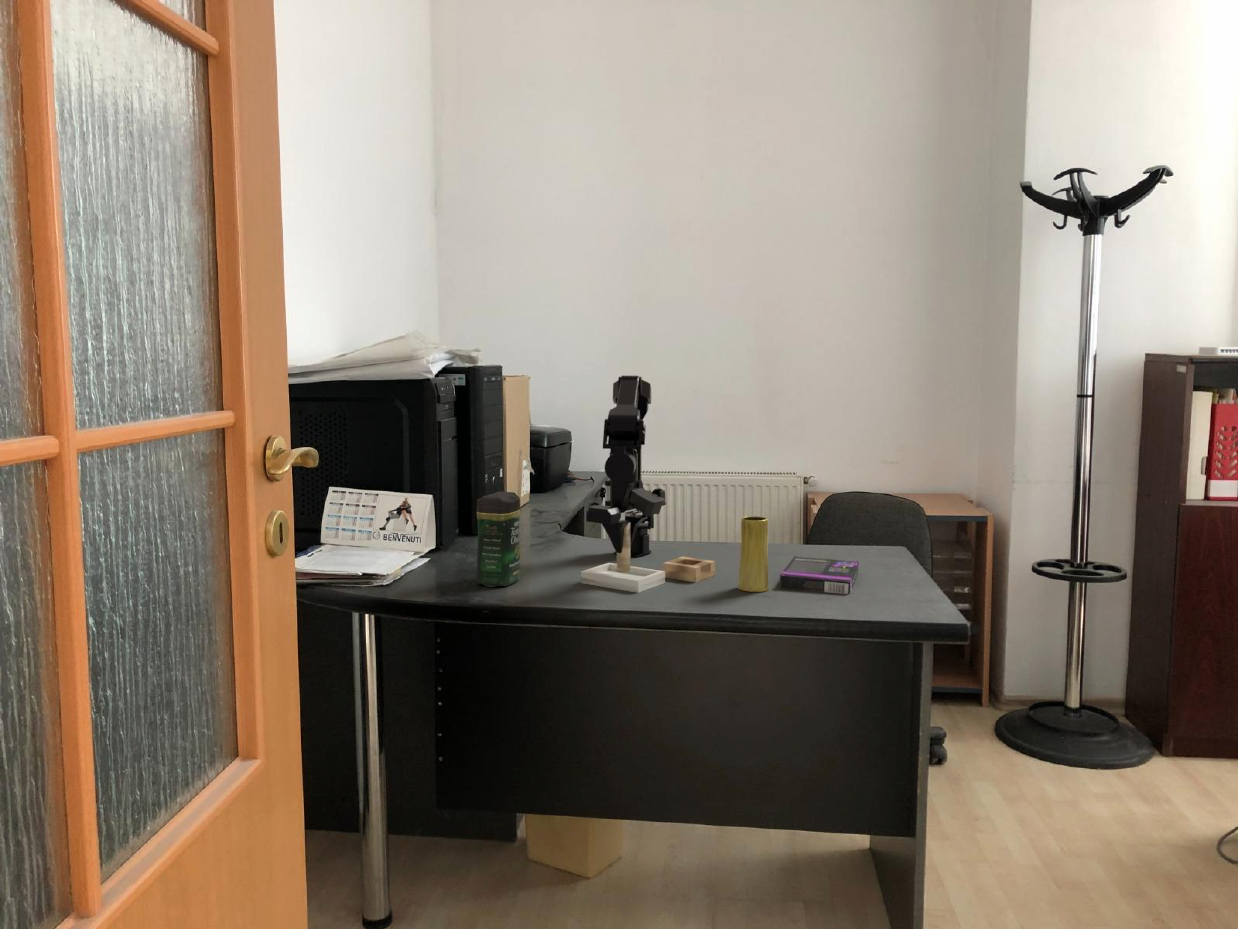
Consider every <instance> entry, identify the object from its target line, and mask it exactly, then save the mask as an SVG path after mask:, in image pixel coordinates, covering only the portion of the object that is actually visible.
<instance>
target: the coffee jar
mask: <svg viewBox="0 0 1238 929" xmlns="http://www.w3.org/2000/svg"><path fill="white" fill-rule="evenodd" d="M476 519H477V561H476V582H477V583H478V584H480V585H483V586H486V587H491V588H492V587H493V588H494V587H497V586H499V587H500V586H504V587H507V586H510V585H511V584H514V583H516V582H518V581H519V580H520V578H521V575H522V574H521V573H522V572H521V569H522V568H521V553H520V552H521V551H520V548H521V547H520V521H521V520H520V519H521V498H520V497H519V495H517V493H516V492H513V491H500V490H499V491H497V492H494V493H491V494H488V495H482V496H481V498H478V499H477V501H476Z"/></svg>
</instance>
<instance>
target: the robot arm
mask: <svg viewBox="0 0 1238 929" xmlns="http://www.w3.org/2000/svg"><path fill="white" fill-rule="evenodd" d="M642 378H643V377H642V376H639V375H621V376H618V379H617V381H614V382H613V384H612V402H613V404H615V405H616V406H615V407H613V408H610V410H609V412H608V415H607V418H604V421H603V422H604V425H603V436H602V438H603V439H602V450H604V449H606V450H607V449H609V450H610V451H609V456H608V457H607V459H606V460H605V463H604V472H605V475H606V476H607V478H608V479H607V480H605V481H604V486H605V487H609V489H608V490H609V495H608V496H609V499H607V500H605V501H604V503H605V504H604V505H599V504H598V505H594V506H591V507H588V508H587V509H586V510H585V522H587V523H596V524H601V525H602V528H604V530H605V532H606V534H607V535H608V536H607V537H608V538H609V540H610V542H611V544H612V546H613V549H614V551H613V552H614V554H615V555H617V553H622V547H623V537H624V528H625V527H626V526H627V524H628V523H629V522H630V557H636V558H637V557H642V556H645V555H647V554H650V553H652V550H651V549H650V534H649V530H651V529H655V516H654V515H659V514H660V512H661V509H662V507H663V506H664V507H665V506H666V504H667V502H666V491H665V490H664V489H663V488H660V487H657V488H655V489H653V490H651V489H649V490H647V489H645V487H644V482H643V480H642V448H643V446H645V444H646V430H647V426H646V424H645V422H644V421H645V420H644V418H645V417H646V415H647V413H648V410H649V405H651V404H652V385H651V383H649V382H648V381H646V380H644V379H642Z"/></svg>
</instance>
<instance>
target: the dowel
mask: <svg viewBox="0 0 1238 929" xmlns="http://www.w3.org/2000/svg"><path fill="white" fill-rule="evenodd" d="M616 564H617V572H620V573H627V572H630V566H631V556H630V522H629V523H628V524H627V526H626V527H625V528H624V537H623V547H622V553H617V554H616Z"/></svg>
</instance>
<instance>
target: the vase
mask: <svg viewBox="0 0 1238 929" xmlns="http://www.w3.org/2000/svg"><path fill="white" fill-rule="evenodd" d="M768 522H769V519H768V517H764V516H759V515H758V516H757V515H755V516H754V515H753V516H752V515H751V516H750V515H749V516H743V517H741V522H740V523H741V524H740V527H741V528H740V530H741V531H740V534H741V536H740V538H741V539H740V555H739V556H740V558H739V570H738V585H737V588H738V590H740V591H743V592H747V593H748V592H749V593H762V592H766V591H769V565H768V564H769V555H768V554H769V550H768V548H769V546H768V543H769V540H768V536H769V533H768V532H769V531H768V525H769V524H768Z"/></svg>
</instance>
